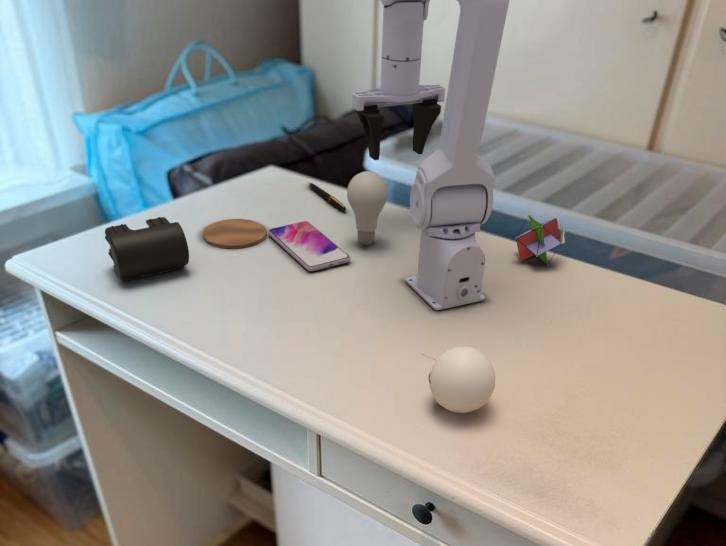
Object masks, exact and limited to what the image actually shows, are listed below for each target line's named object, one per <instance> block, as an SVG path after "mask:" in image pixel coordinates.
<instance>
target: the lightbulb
mask: <svg viewBox="0 0 726 546" xmlns="http://www.w3.org/2000/svg"><path fill="white" fill-rule="evenodd" d="M388 197H389V190H388V186H387V183H386V182H385V180H384V178H383V177H382V176H381V175H379V174H378V173H376V172H373V171H361V172H359V173H357V174H355V175H354V176H353V177H352V178H351V179H350V181H349V182H348V185H347V188H346V199H347V201H348V204H349V206H350V208H351V210H352V212H353V214H354V217H355V227H356V229H357V241H358V242H359V244H362V245H363V246H369V245H370V244H372V243H374V242H375V237H376V236H375V235H376V229H377V226H378V221H379V216H380V215H381V212H382V211H383V209H384V207H385V205H386V203H387V201H388Z"/></svg>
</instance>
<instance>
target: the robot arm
mask: <svg viewBox="0 0 726 546" xmlns="http://www.w3.org/2000/svg"><path fill="white" fill-rule="evenodd" d="M430 1H431V0H380V3H381V5H383V6H382V7H383V9H382V10H383V11H382V39H381V61H380V65H381V67H380V87H376V88H372V89H367V90H364V91H358V92H353V93H352V95H351V99H352V100H351V104H352V105H351V107H352V109H354V110H355V112H356V114H357V117H358V118H359V121H360V123H361V127H362V129H363V132H364V135H365V139H366V144H367V149H368V155H369V158H371V159H372V161H379V160H380V155H381V134H382V129H383V123H384V121H385V116H384V115H383V114H381V112H380V109H379V108H385V107H393V106H394V107H395V106H403V105H412V114H413V115H412V116H413V133H412V151H413V152H414V153H416V154H417V155H423V153H424V150H425V146H426V143H427V140H428V137H429V134H430V132H431V130H432V128H433V126H434V124H435V122H436V121H437V119H438V118H439V116H440V114H441V112H442V105H441V104H440V103H443V102H445V106H444V112H443V119H442V124H441V132H440V138H439V144H438V148H437V149H436V150H435V151H434V152H432V153H431V154H430V155H429V156H427V157H426V158H425V159H424V160H423V161H421V162H420V163H419V164H418V166H417V170H416V173H415V178H414V182H413V184H412V185H411V188H410V193H409V210H410V216H411V219H412V222H413V224H414V225H415V226H416V227H417V229H418V230H420V241H419V253H418V264H417V265H418V266H417V275H411V276H407V277H405V278H404V279H405V280H404V281H405V283H406V284H407V285H409V286H410V288H411V289H413V290H414V291H415V292H416V293H417V294H418V295H419V296H420V297H421V298H422V299H423V300H424V301H425V302H426V303H427V304H428V305H429V306H430V307H431V308H432V309H433V310H435V311H441V310H446V309H450V308H455V307H459V306H465V305H468V304H475V303H478V302H484V301H485V300H486V299H485V298H486V297H485V295H484V294H483V293H482V286H483V285H482V284H483V278H484V270H485V264H486V257H485V256H486V255H485V253H484V251H483V250H482V248H481V246H479V244H478V242H477V239H476V233H479V232H480V231H481V225H484V224H485V223H486V222H487V221H488V220H489V218H490V216H491V215H492V211H493V207H494V185H495V179H496V177H495V174H494V170H493V169H492V167H491V165H490V164H489V163H488V161H487V160H486V159H485V158H483V157H482V155H480V154H479V153H480V149H481V144H482V139H483V133H484V129H485V123H486V120H487V119H486V118H487V114H488V108H489V104H490V99H491V94H492V89H493V83H494V80H495V75H496V70H497V68H496V67H497V66H498V65H497V64H498V59H499V54H500V50H501V46H502V45H501V44H502V40H503V35H504V30H505V25H506V19H507V16H508V15H507V14H508V10H509V4H510V0H456V1H457V3H458V5H459V10H460V11H459V17H458V22H457V29H456V36H455V40H454V41H455V42H454V48H453V54H452V62H451V68H450V75H449V80H448V87H447V94H446V87H444V86H442V85H440V84H420V81H421V80H420V79H421V64H422V53H423V51H422V50H423V38H424V23H425V21H427V19H428V16H429V5H430ZM445 96H446V98H445ZM445 100H446V101H445Z"/></svg>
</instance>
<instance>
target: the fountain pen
mask: <svg viewBox="0 0 726 546" xmlns="http://www.w3.org/2000/svg"><path fill="white" fill-rule="evenodd" d="M307 185H308V187H309V188H311V189H312V190H313V191H314V192H315V193H316V194H318V195H319V196H320V197H321V198H322V199H324V200H325V201H327V202H328V203H329V204H330V205H331V206H333V207H334V208H336V209H337V210H339V211H341V212H346V211H347V208H346V206H345V205H344V204H343V203H342V202H341V201H340V200H338V198H337V197H335V196H334V195H331V194H330V193H328V192H327V191H325V190H324V189H323V188H321V187H320V186H318V185H316V184H314V183H313V182H308V181H307Z"/></svg>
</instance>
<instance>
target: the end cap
mask: <svg viewBox="0 0 726 546" xmlns="http://www.w3.org/2000/svg"><path fill="white" fill-rule="evenodd" d="M145 223H146V225H147V226H148V227H143V228H139V229H138V228H137V229H131V228H130V227H129V226H128V225H127V224H126V223H124V224H123V223H121V224H118V225H111V226H108V227H106V228H105V230H104V235H105V236H104V239H105V241H106V242H107V243H108V245H109V248H108V252H107V254H108V255H109V257H110V259H111V260H112V262H113V271H114V272H115V275H116V277H117V278H118V279H120V281H122V282H125V281H129V280H134V279H139V278H144V277H148V276H153V275H157V274H161V273H166V272H171V271H175V270H180V269H184V268H185V266H187V265H188V264H189V261H190V251H189V245H188V241H187V237H186V235H185V232H184V230H183V228H182V226H181V224H180V223H179V222H178V221H176V222H175V221H174V222H170V221H169V220H168V219H167V218H166V217H165V216H161V217H160V216H158V217H155V218H149V219H146V220H145Z"/></svg>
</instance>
